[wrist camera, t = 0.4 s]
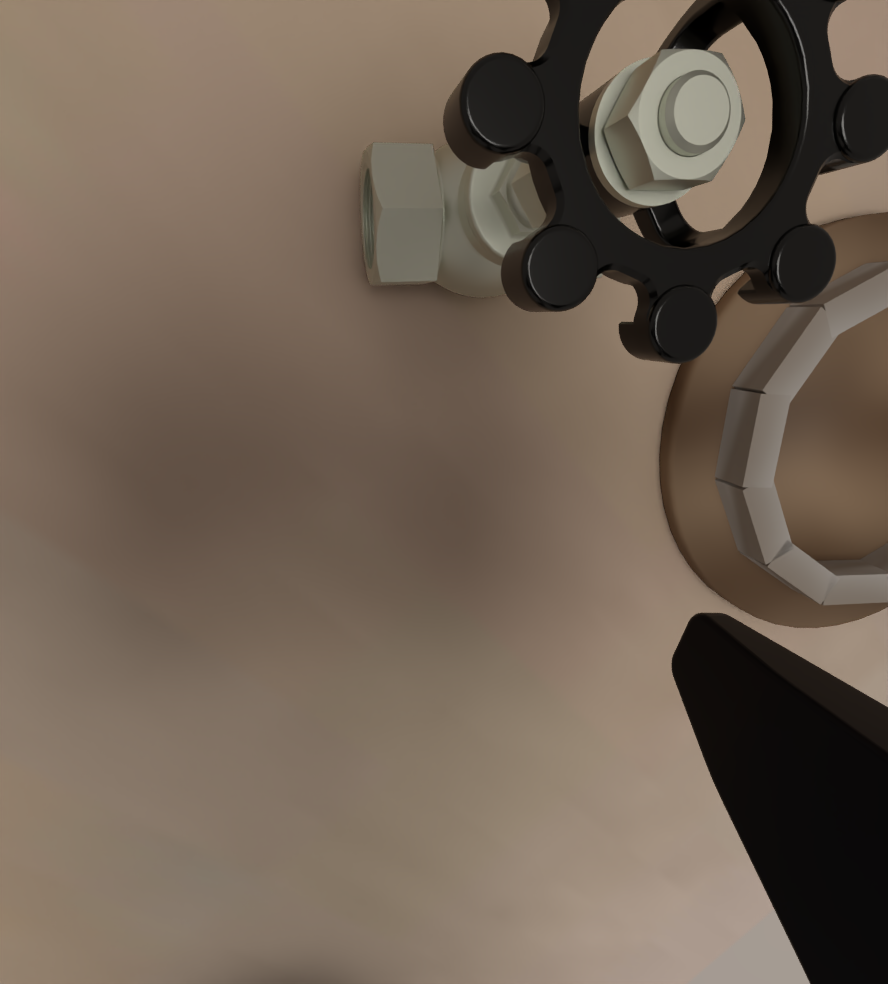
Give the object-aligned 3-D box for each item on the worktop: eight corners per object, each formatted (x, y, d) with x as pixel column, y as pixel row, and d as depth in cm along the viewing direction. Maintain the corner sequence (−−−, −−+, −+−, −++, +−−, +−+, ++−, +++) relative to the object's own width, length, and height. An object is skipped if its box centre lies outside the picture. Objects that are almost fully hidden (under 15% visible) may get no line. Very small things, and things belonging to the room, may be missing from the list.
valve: (351, 105, 18) (453, -253, 7) (566, 114, 19) (950, -171, 8) (366, 341, 20) (466, 376, 8) (561, 333, 21) (868, 353, 10)
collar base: (942, 609, 29) (1000, 635, 26) (631, 625, 25) (666, 657, 23) (1052, 239, 25) (1132, 231, 22) (700, 190, 21) (752, 174, 18)
